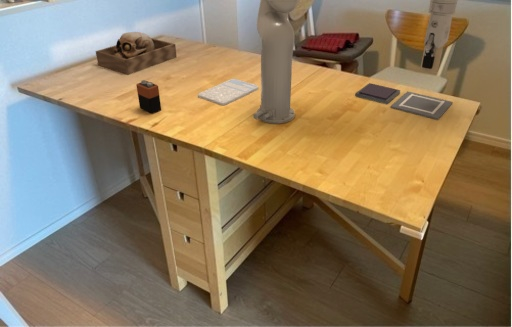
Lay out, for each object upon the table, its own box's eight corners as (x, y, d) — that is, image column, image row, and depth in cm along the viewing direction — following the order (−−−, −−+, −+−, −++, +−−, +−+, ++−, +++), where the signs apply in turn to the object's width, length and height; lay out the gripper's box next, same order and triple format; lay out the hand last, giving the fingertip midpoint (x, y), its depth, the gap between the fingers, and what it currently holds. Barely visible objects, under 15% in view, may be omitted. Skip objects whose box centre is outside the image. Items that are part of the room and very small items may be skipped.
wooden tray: (128, 74, 176) (126, 60, 173) (98, 65, 186) (95, 51, 183) (176, 57, 195) (175, 44, 191) (146, 49, 205) (144, 36, 202)
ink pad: (386, 104, 150) (387, 100, 149) (354, 96, 156) (355, 92, 155) (399, 93, 158) (400, 89, 157) (369, 86, 164) (369, 82, 163)
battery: (151, 114, 144) (147, 86, 139) (139, 109, 148) (134, 81, 143) (162, 110, 147) (158, 82, 142) (149, 105, 151) (145, 77, 146)
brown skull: (109, 68, 182) (105, 35, 176) (123, 59, 198) (120, 28, 192) (147, 70, 181) (144, 37, 175) (158, 61, 197) (156, 30, 191)
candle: (435, 67, 144) (442, 37, 139) (439, 73, 140) (446, 42, 134) (418, 66, 145) (424, 36, 139) (422, 72, 140) (428, 41, 135)
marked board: (437, 120, 139) (438, 117, 139) (390, 107, 148) (390, 105, 147) (452, 103, 150) (452, 101, 150) (407, 92, 158) (407, 90, 158)
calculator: (196, 98, 157) (196, 93, 156) (233, 81, 170) (233, 77, 169) (223, 107, 150) (223, 102, 149) (259, 90, 163) (259, 85, 162)
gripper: (446, 14, 124) (433, 75, 134) (463, 4, 136) (449, 60, 145) (420, 11, 128) (409, 70, 137) (438, 1, 139) (427, 56, 149)
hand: (430, 64), depth 141 cm, fingers closed on candle, 5 cm apart
